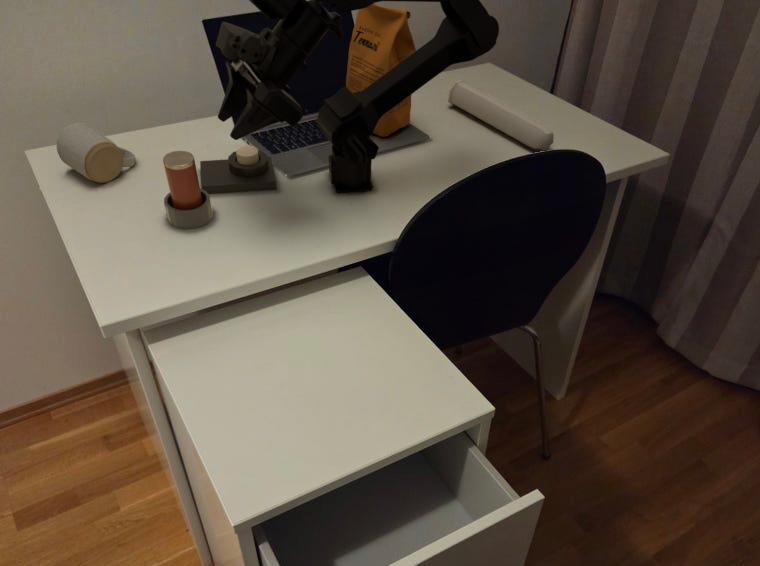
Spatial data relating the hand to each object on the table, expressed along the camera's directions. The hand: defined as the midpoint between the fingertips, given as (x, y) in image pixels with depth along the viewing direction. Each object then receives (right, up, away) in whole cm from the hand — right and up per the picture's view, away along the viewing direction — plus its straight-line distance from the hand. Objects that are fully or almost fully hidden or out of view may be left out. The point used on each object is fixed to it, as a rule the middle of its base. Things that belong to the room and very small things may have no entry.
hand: (226, 128), depth 93 cm
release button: (0, 0, +14) cm, 14 cm away
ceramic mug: (-25, -2, +15) cm, 29 cm away
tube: (+46, +12, +34) cm, 58 cm away
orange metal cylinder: (-8, -11, +7) cm, 15 cm away
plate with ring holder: (-2, -3, +15) cm, 16 cm away
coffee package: (+21, +13, +33) cm, 41 cm away
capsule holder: (-8, -12, +7) cm, 16 cm away
